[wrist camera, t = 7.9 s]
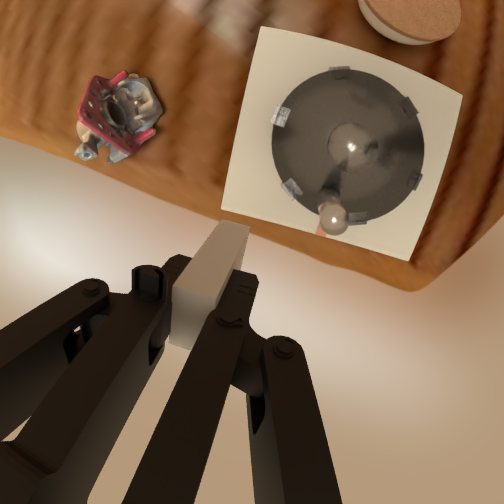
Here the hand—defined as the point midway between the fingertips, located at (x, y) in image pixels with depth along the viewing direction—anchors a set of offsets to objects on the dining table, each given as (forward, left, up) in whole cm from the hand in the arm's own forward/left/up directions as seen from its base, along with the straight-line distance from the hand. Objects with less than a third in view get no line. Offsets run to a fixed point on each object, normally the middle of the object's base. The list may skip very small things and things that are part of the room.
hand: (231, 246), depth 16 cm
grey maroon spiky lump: (+19, -4, -21) cm, 28 cm away
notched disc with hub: (-7, -6, -19) cm, 21 cm away
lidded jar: (-9, -24, -21) cm, 33 cm away
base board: (-7, -6, -20) cm, 22 cm away
